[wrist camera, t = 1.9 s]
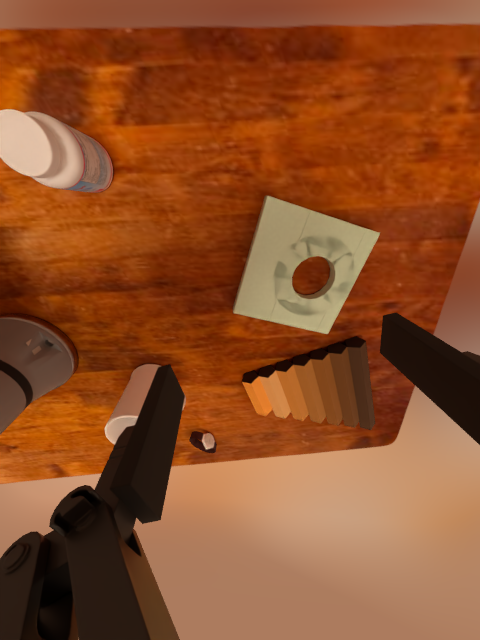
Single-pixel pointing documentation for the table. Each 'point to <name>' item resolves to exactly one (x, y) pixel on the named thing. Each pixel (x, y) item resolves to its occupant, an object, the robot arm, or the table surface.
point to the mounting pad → (287, 253)
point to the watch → (207, 440)
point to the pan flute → (317, 386)
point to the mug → (131, 401)
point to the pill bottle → (53, 152)
